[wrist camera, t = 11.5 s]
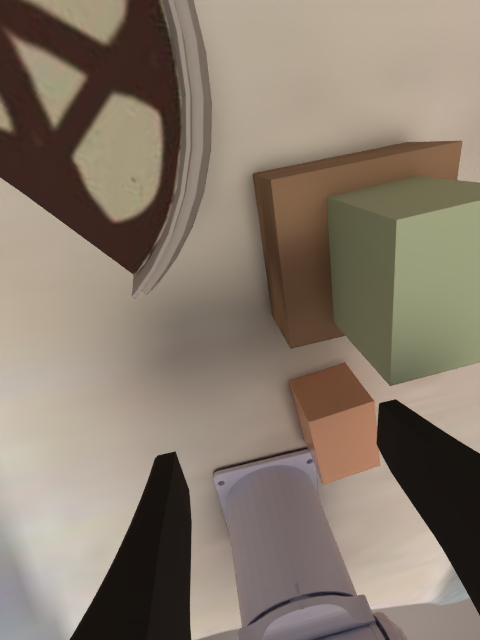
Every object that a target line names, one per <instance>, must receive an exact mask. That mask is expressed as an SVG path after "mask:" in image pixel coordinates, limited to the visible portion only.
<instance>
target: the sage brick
mask: <svg viewBox="0 0 480 640" xmlns="http://www.w3.org/2000/svg"><path fill="white" fill-rule="evenodd" d="M327 213H328V230H329V247H330V264H331V280H332V297H333V314H334V323H335V324H336V325H337V327H338V328H339V329H340V330H341V331H342V332H343V333H344V334H345V336H346V337H347V338H348V339H349V340H350V341H351V342H352V344H353V345H354V346H355V347H356V348H357V349H358V350H359V351H360V353H361V354H362V355H363V356H364V357H365V358H366V359H367V360H368V362H369V363H370V364H371V365H372V366H373V367H374V368H375V369H376V371H377V372H378V373H379V374H380V375H381V376H382V377H383V379H384V380H385V381H386V382H387V383H388V384H389V385H390V386H392V385H396V384H399V383H403V382H407V381H411V380H415V379H418V378H422V377H426V376H430V375H434V374H438V373H441V372H445V371H449V370H453V369H457V368H460V367H464V366H468V365H472V364H476V363H479V362H480V183H477V182H468V181H459V180H450V179H441V178H432V177H423V176H417V177H412V178H408V179H404V180H399V181H395V182H391V183H386V184H382V185H377V186H373V187H369V188H364V189H360V190H356V191H351V192H347V193H343V194H338V195H334V196H330V197H327Z"/></svg>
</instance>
